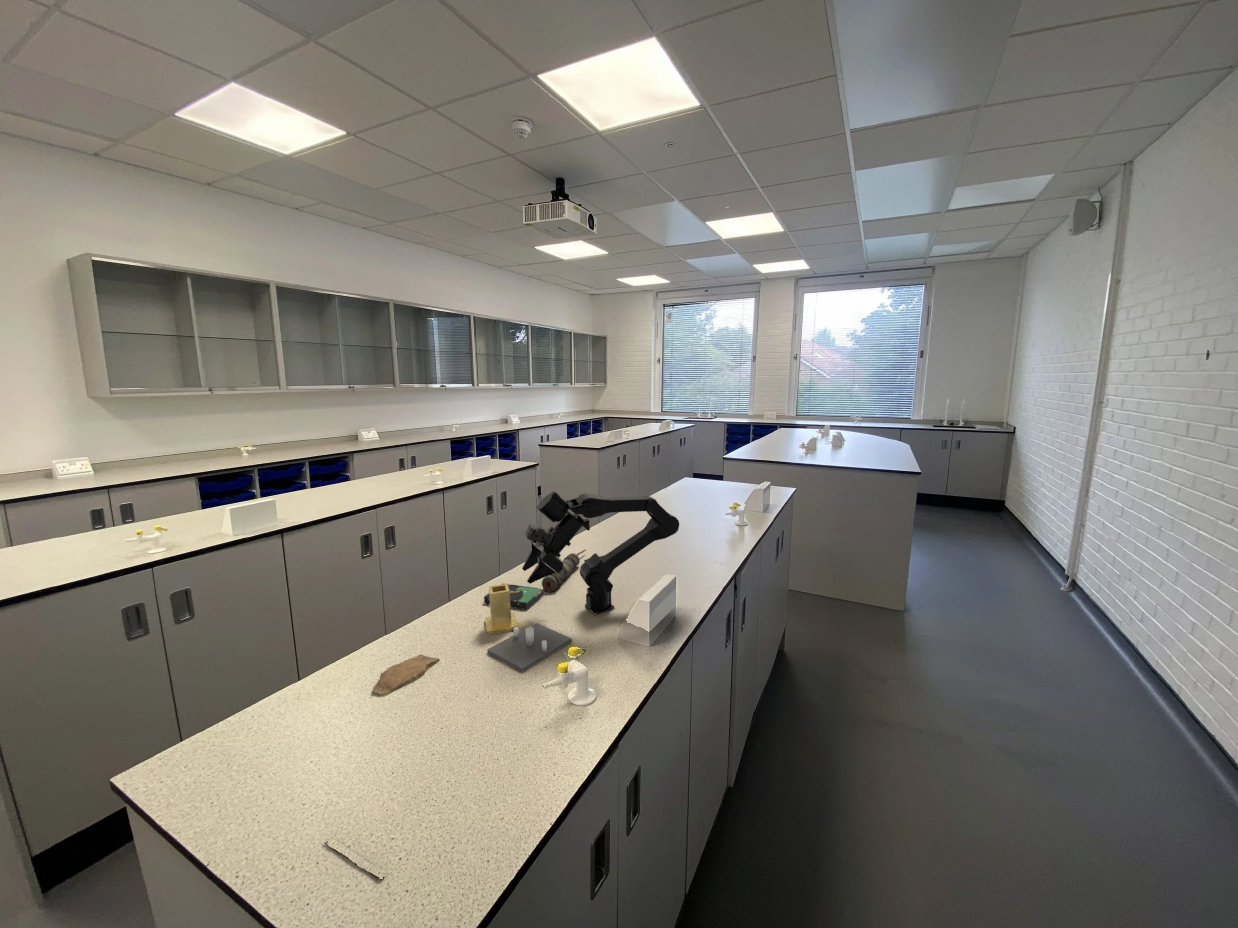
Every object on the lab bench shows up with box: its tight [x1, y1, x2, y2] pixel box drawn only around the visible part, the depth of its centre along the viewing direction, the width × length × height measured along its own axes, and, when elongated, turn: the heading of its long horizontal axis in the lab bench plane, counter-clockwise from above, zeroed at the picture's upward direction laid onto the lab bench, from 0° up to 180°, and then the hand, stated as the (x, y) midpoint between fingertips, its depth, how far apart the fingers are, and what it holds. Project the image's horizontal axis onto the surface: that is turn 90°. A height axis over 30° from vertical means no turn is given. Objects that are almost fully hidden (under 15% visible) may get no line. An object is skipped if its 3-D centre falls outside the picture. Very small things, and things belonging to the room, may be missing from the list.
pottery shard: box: [371, 654, 440, 697], centre depth 108 cm, size 8×16×2 cm, turn 144°
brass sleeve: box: [484, 583, 519, 636], centre depth 129 cm, size 8×8×10 cm
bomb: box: [541, 549, 587, 592], centre depth 165 cm, size 5×34×5 cm, turn 165°
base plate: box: [486, 622, 573, 673], centre depth 118 cm, size 16×13×5 cm
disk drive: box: [483, 583, 544, 611], centre depth 145 cm, size 10×3×15 cm
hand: (525, 575), depth 130 cm, fingers open, 9 cm apart
